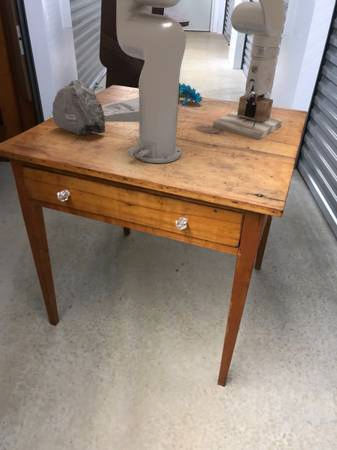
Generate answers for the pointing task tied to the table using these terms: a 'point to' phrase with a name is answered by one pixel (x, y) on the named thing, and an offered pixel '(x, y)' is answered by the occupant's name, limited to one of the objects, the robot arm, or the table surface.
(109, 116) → the ramp
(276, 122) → the board
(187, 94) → the gear
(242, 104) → the block
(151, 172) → the table surface
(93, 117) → the decorative rock
